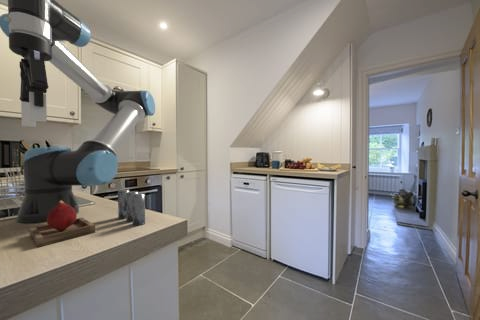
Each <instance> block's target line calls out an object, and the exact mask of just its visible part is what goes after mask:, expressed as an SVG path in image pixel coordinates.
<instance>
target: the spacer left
mask: <svg viewBox="0 0 480 320" xmlns="http://www.w3.org/2000/svg"><path fill="white" fill-rule="evenodd" d="M117 191H118V192H117V217H118V220H127V199H126V193H127V192H131V190H130V189H121V190H117Z"/></svg>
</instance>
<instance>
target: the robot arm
mask: <svg viewBox="0 0 480 320" xmlns="http://www.w3.org/2000/svg"><path fill="white" fill-rule="evenodd" d="M7 8H8V12H7V13H3V14H1V15H0V29H1V31H2V33H3V34H4V35H5V36H6V37H7V38H8V48H9V50H10V51H11V52H12V53H14V54H16V55H17V56H20V57H22V58H21V59H20V60H19V65H18V66H19V69H20V73H19V76H20V96H19V100H20V102H21V103H20V105H21V107H20V109H21V111H20V112H21V127H30V128H31V127H32V128H37V122H38V123H39V122H40V123H47V121H48V119H47V118H48V117H47V113H48V112H47V111H48V110H47V93H48V92H47V91H48V89H49V84H48V77H47V70H46V63H45V62H49V63H50V64H51V65H53V66H54V67H56V68H57V69H58V70H59V72H61V73H62V74H63V75H65V76H66V77H67V78H68V79H70V80H71V81H72V82H74V83H75V85H77V86H78V87H79V88H80V89H82V90H83V91H84V92H85V93H86V94H87V95H88V96H90V99H91V101H93V102H94V103H95V104H96V105H97V106H98V107H100V108H102V109H104V110H105V111H107V112H109V113H112V114H114V115H113V117H111V118H110V120H109V121H108V122H107V123H106V124H105V125H104V126H103V128H102V129H101V130H100V131H99V132H98V133H97V134H96V135H95V137H94V138H92V140H86V141H84V142H82V144H80V146H79V147H78V148H77V149H76V150H72V149H71V147H68V146H49V147H48V146H47V147H36V148H31V149H28V150H26V151H25V152H24V155H23V156H24V157H23V174H24V175H23V177H24V197H23V200H22V202H21V205H20V208H19V210H18V212H17V214H16V215H17V218H16V219H17V222H18V223H23V224H25V223H26V224H29V223H30V224H31V223H33V224H34V223H43V222H47V216H48V214H49V212H50V211H51V210H52V209H53V208H54V207H56V206H57V205H58V204H59V202H60V201H63V202H64V203H65V204H67V205H70V206H71V207H73V208H74V210H75V212H76V215H77V214H79V212H80V211H79V210H80V209H79V208H80V207H79V203H78V201H77V200H76V199H77V198H76V197H75V195H74V192H73V186H75V187H76V186H84V187H96V186H98V187H99V186H103V185H106V184H108V183H111V182H112V181H113V180H114V179H115V177H116V175H117V173H118V170H119V169H118V167H119V160H118V155H117V152H118V151H119V149H120V148H121V147H122V146H123V144H124V142H125V141H126V140H127V138H128V136H129V135H130V134H131V132H132V131H133V130H134V128H135V126H136V125H137V123H141V122H143V121H144V120H145V118H146V117H147V116H149V117H151V116H154V115H155V113H156V103H155V99H154V96H153V95H152V94H151V92H150V91H147V90H115V89H112V88H111V87H110V86H109V85H107V84H104V83H103V82H102V81H101V80H100V79H99V78H98V77H97V75H95V74H94V73H93V72H92V71H91V70H90V69H89V68H88V67H87V66H85V64H84V63H83V62H81V61H80V59H79V58H77V56H75V54H73V53H72V51H70V50H69V49H68V48H67V47H66V46H65V45H64V44H63V43H62V42H68V43H69V44H71V45H73V46H76V47H77V48H78V47H79V48H83V47H86V46H87V45H88V44H89V43H90V41H91V39H92V35H91V34H92V33H91V30H90V28H89V27H88V26H87V24H85V23H84V22H82V20H81V19H80V18H78V17H77V16H75V14H73V13H71V12H70V11H69V10H67V9H66V8H65V7H63V5H61V4H60V3H59V2H58V1H56V0H7Z"/></svg>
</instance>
